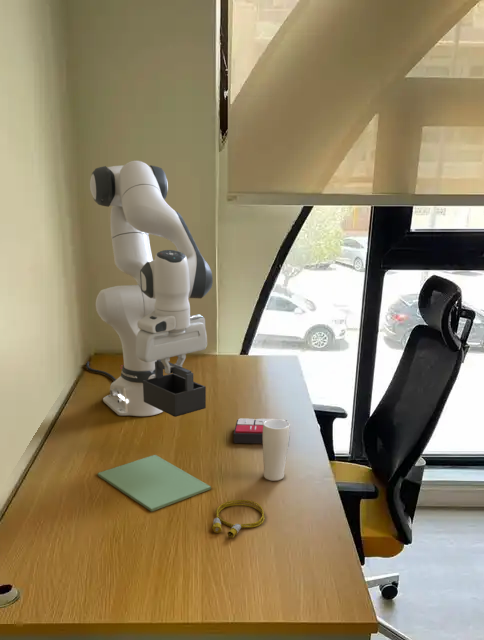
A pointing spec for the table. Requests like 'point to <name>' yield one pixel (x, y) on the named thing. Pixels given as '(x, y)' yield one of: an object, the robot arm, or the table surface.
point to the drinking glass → (275, 448)
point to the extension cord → (235, 527)
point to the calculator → (249, 430)
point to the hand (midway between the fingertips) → (173, 372)
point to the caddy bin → (174, 391)
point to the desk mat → (154, 482)
